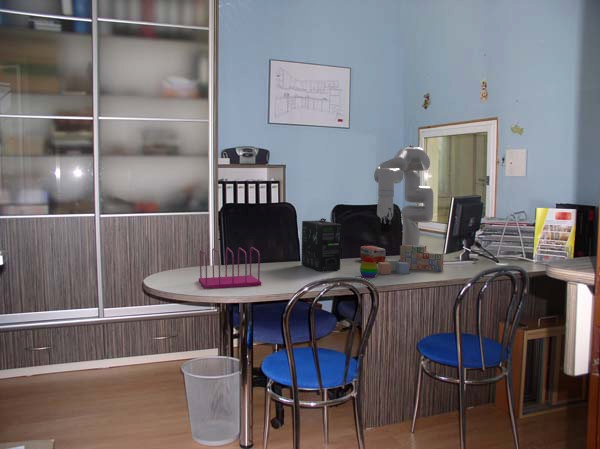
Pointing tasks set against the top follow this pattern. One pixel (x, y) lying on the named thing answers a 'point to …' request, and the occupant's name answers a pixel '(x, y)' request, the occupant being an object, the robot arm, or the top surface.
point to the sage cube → (392, 263)
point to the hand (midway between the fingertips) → (385, 231)
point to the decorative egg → (368, 268)
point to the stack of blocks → (421, 258)
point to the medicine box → (373, 253)
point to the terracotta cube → (384, 268)
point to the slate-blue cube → (402, 267)
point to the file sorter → (232, 280)
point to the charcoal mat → (389, 274)
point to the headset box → (321, 245)
